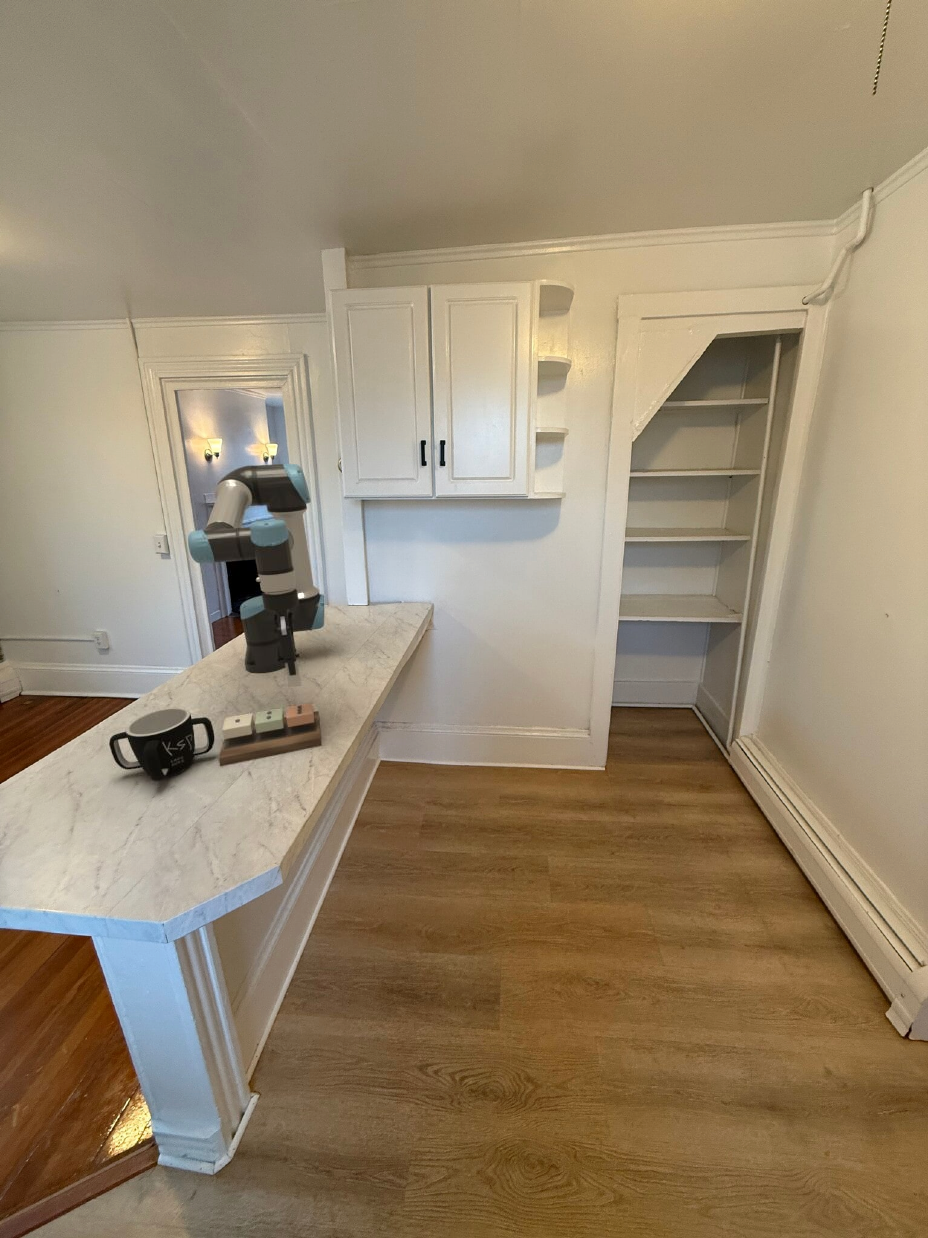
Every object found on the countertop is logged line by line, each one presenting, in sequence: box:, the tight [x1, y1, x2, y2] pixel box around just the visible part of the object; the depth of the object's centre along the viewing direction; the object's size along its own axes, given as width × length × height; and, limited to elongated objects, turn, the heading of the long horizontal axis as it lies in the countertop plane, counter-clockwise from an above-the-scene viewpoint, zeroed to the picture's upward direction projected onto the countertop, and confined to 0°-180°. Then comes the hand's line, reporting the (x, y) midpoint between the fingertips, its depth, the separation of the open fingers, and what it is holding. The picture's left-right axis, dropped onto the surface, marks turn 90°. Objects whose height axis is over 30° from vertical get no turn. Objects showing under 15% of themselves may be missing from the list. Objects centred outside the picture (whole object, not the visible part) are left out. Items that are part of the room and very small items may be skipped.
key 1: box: [221, 712, 255, 740], centre depth 112 cm, size 6×6×3 cm
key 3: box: [285, 702, 315, 727], centre depth 116 cm, size 6×6×3 cm
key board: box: [218, 710, 322, 767], centre depth 116 cm, size 14×22×2 cm, turn 108°
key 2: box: [254, 707, 285, 733], centre depth 114 cm, size 6×6×3 cm
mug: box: [109, 707, 215, 782], centre depth 105 cm, size 16×16×12 cm
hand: (295, 685), depth 113 cm, fingers closed
